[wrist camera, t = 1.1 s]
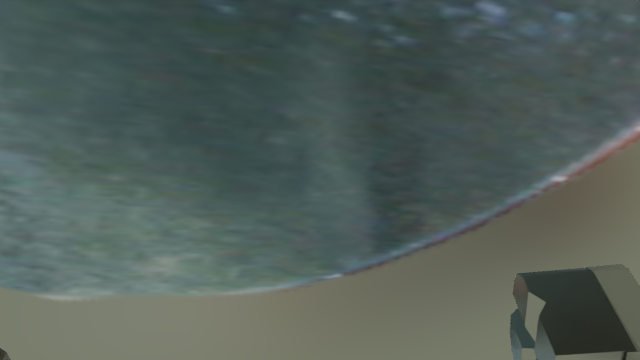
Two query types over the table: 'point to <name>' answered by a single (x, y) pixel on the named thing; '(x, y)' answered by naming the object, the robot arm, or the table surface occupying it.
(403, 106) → the table surface
